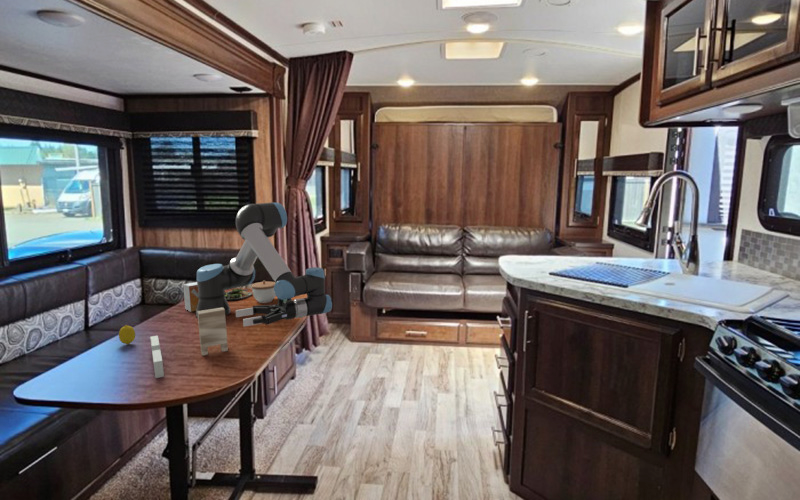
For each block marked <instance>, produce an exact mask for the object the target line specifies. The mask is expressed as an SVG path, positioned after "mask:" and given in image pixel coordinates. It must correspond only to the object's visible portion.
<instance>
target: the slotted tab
mask: <svg viewBox="0 0 800 500" xmlns="http://www.w3.org/2000/svg"><path fill="white" fill-rule="evenodd" d="M197 313H198V318H197V321H198V332H199V333H198V334H199V345H200V354H201V356H206V355H209V350H208V348H210V347H214V346H218V345H219V346H220V350H221V352H223V353H224V352H228V351H229V346H228V334H227V322H226V321H227V320H226V316H225V309H224V308H216V309H209V310H202V311H197Z"/></svg>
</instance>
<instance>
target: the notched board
mask: <svg viewBox="0 0 800 500" xmlns="http://www.w3.org/2000/svg"><path fill="white" fill-rule="evenodd" d="M149 338H150V345H151V346H150V347H151V354H152V362H153V370H154V377H155V379H158V378H163V377H165V372H164V364H163V363H164V362H163V357H162V351H161V347H160V345H161V344H160V341H159V339H160V338H159V335H152V336H150V337H149Z"/></svg>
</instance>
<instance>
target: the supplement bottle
mask: <svg viewBox="0 0 800 500" xmlns="http://www.w3.org/2000/svg"><path fill="white" fill-rule="evenodd" d="M292 299H293V298H291V299H284V300H281V299H279V298H277V304H278V306H279V307H280V306H282V304H283V302H284V301H289V300H292ZM292 301H293V300H292Z"/></svg>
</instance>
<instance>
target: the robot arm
mask: <svg viewBox="0 0 800 500" xmlns="http://www.w3.org/2000/svg"><path fill="white" fill-rule="evenodd" d="M287 223H288V215H287V211H286V209H285V207H284V205H283V204H281V203H280V202H272V201H271V202H264V203H263V202H262V203H248V204H246V205H244V206H242V207H241V208H240V209H239V210H238V212H237V214H236V217H235V228H236V231H237V232H238V234H239V236H240V237H241V239H242V240H244V242H243V244H242V245H241V247H240V250H239V251H238V254H237V255H236V256H235V257H233V258H231V260H230V261H229V264H227V265H223V264H222V263H213V264H207V265H204V266H201V267H200V268H199V269H197V271H196V282H197V286H198V296H199V301H198V305H197V309H196V311H195V317H196V318H197V319H198V313H197V311H202V310H209V309H216V308H224V309H225V317H226V316H229V315H230V313H231V307H230V305H229V301H227V300H226V298H225V292H226V291H227V290H228V291H229V290H231V289H232V290H233V289H238V288H242V287H246V286H249V285H251V284H253V283H254V281H255V278H256V269H255V267H254V265H255V263H256V261H257V259H259V261H260V263H261V264H262V265H263V267H264V268H265V270H266V271H267V273H268V274H269V276H270V277H271V278H272V280H273V282H275V285H274V291H275V295H276V296H275V297H277V298H279V299H281V300H284V299H291V298H292V299H293V298H296V297H298V296H304V295H306V297H303V298H296V299H293V300H289V301H284V302H283V304H282V306H280V307H279V306H278V303H277V304H264V305H263V304H261V305H259V304H258V305H253V306H252V307H247V308H241V309H235V317H236V318H240V317H247V316H253V317H248V318H243V319H242V325H243V326H242V327H250V326H256V325H261V324H262V325H265V326H266V325H270V324H274V323H276V322H279V321H283V320H286V321H288V320H293V319H295V318H296V319H298V318H300V319H303V317H309V316H316V315H323V314H326V313H329V312H331V311H332V308H333V301H332V298H331V297H332V296H330V295H329V294H327V293H326V284H325V283H326V276H325V270H324V269H323V268H322V267H316V266H315V267H309V268H306V269H305V274H303V275H299V276H295V275H294V274H293V272H292V271H291V269H290V268H289V267H288V264H287V263H286V262H285V261H284V259H283V257H282V256H281V255H280V253H279V252H278V251H277V249H276V248H275V246H274V245H273V244H272V242H271V240H270V238H272V237H273V236H274V235H275V233H276V232H277V230H278V229H284V228H285V226H287ZM256 314H257V315H258V316H255V315H256Z"/></svg>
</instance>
